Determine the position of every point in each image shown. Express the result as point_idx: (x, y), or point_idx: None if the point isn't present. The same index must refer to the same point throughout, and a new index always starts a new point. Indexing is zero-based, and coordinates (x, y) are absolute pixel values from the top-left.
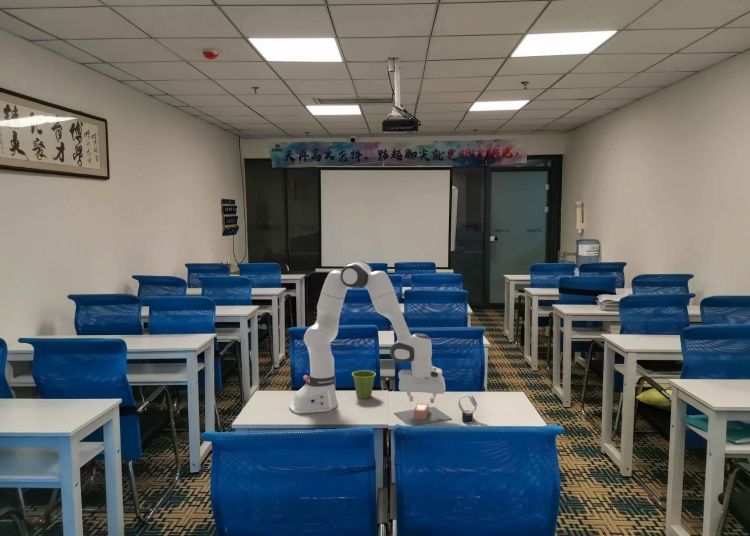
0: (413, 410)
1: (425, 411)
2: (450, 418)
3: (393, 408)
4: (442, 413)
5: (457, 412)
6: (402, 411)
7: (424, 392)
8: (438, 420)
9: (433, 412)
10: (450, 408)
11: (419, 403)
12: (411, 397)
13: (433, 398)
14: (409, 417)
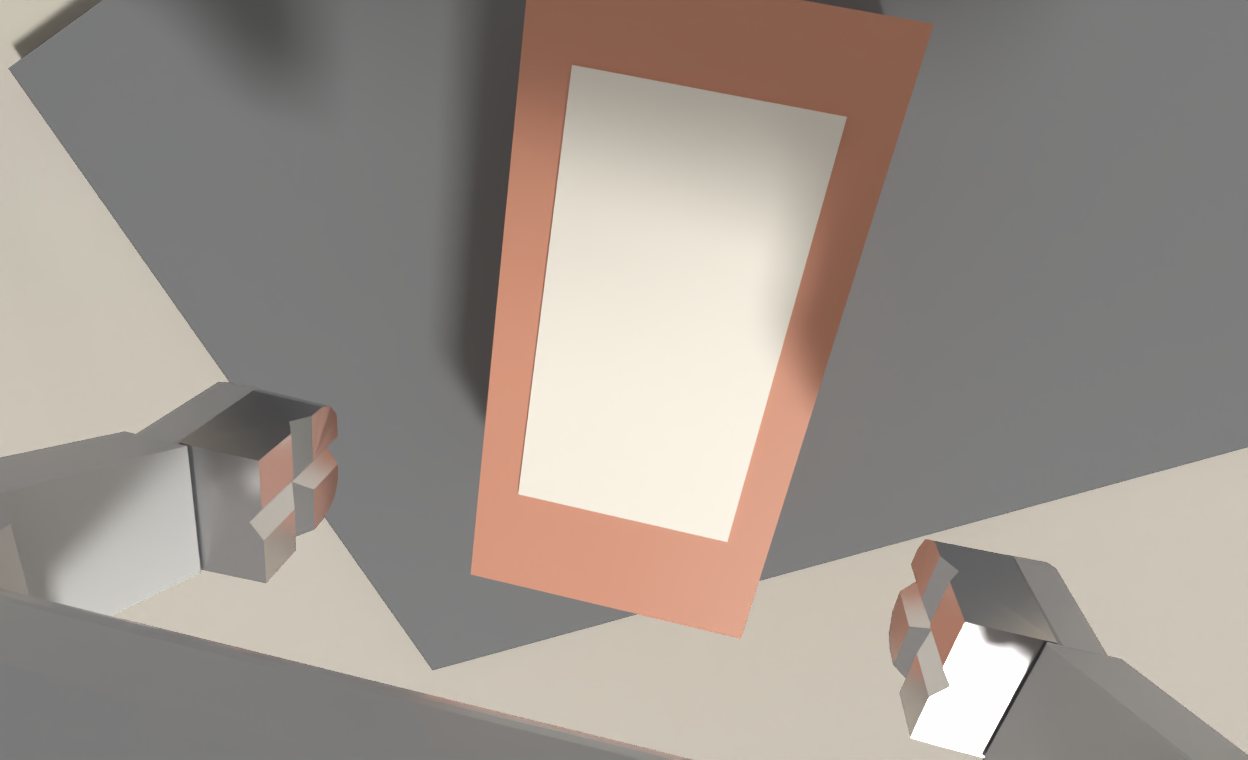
0: (824, 527)
1: (526, 5)
2: (36, 76)
3: (1228, 676)
4: (244, 359)
5: (30, 437)
6: (1088, 487)
7: (341, 675)
8: None
9: (419, 413)
10: (176, 601)
11: (687, 619)
12: (1013, 650)
13: (121, 447)
14: (993, 105)
